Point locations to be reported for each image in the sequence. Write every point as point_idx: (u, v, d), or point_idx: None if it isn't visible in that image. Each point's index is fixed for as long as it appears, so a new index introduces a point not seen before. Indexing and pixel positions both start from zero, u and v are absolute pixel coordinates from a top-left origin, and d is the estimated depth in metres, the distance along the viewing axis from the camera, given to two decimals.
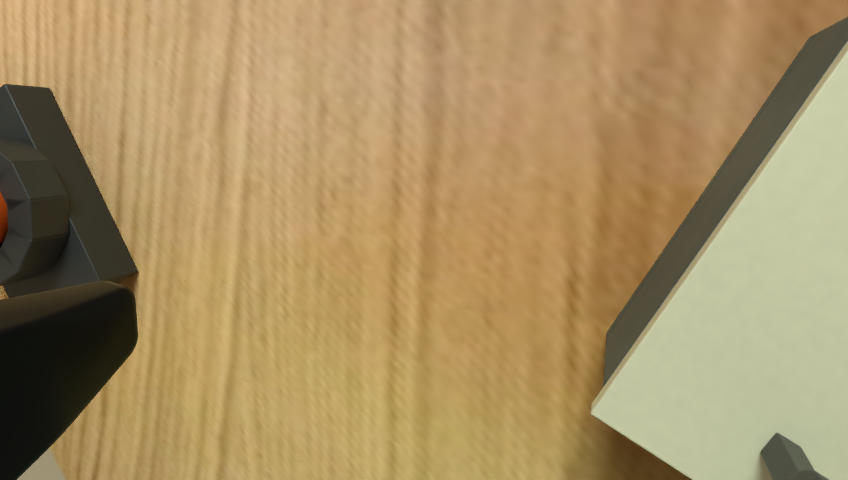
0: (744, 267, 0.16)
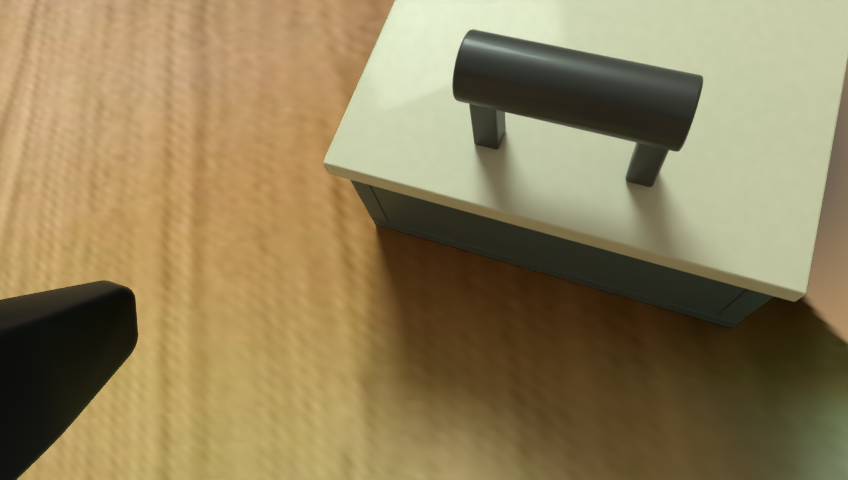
0: (420, 13, 0.19)
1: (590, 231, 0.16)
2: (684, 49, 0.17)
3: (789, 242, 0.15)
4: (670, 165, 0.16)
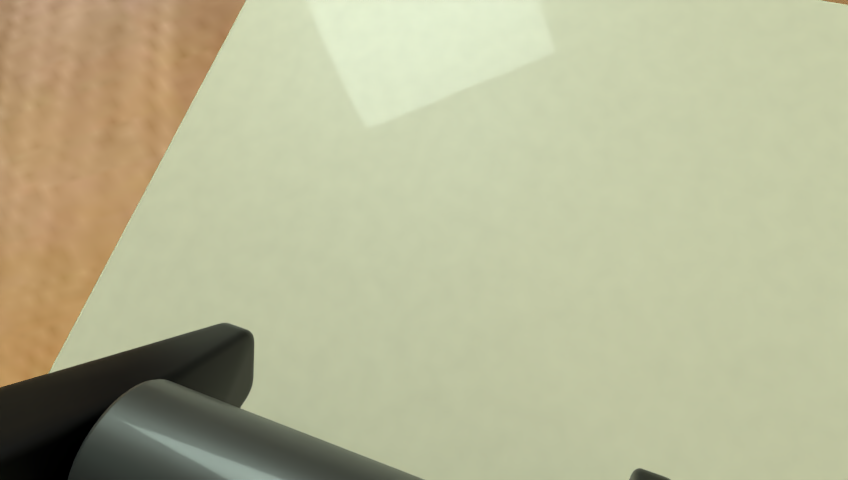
0: (189, 205, 0.11)
1: None
2: (638, 306, 0.09)
3: None
4: None
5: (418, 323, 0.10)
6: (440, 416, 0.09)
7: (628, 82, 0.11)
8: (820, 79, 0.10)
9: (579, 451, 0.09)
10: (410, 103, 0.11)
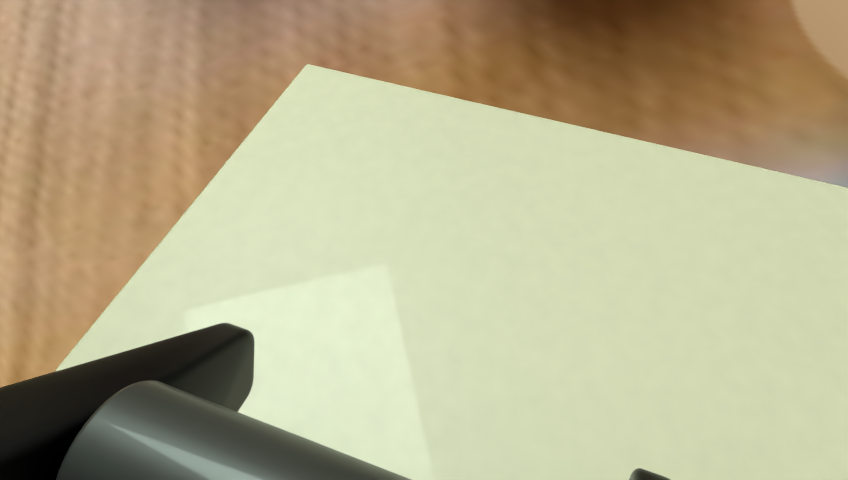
0: (180, 284, 0.11)
1: None
2: (608, 397, 0.10)
3: None
4: None
5: (398, 403, 0.10)
6: None
7: (592, 211, 0.12)
8: (750, 221, 0.12)
9: None
10: (400, 213, 0.12)
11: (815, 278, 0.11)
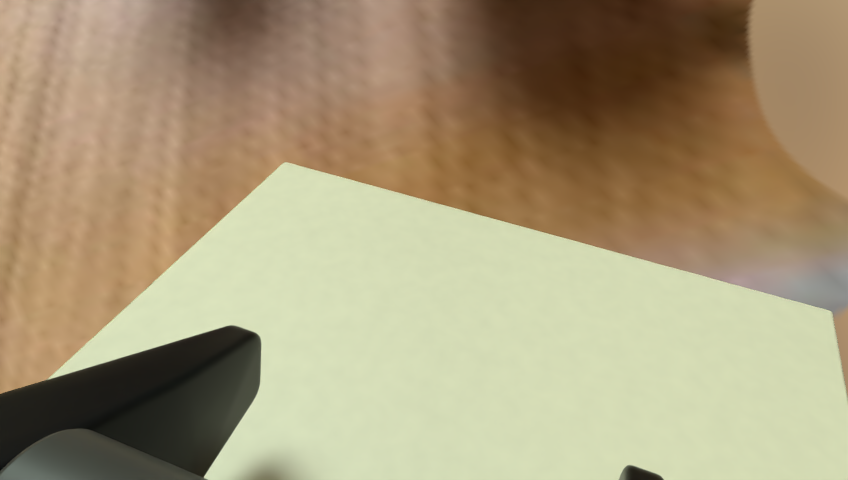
0: None
1: None
2: None
3: None
4: None
5: None
6: None
7: (563, 313, 0.12)
8: (717, 330, 0.12)
9: None
10: (369, 304, 0.12)
11: (786, 390, 0.11)
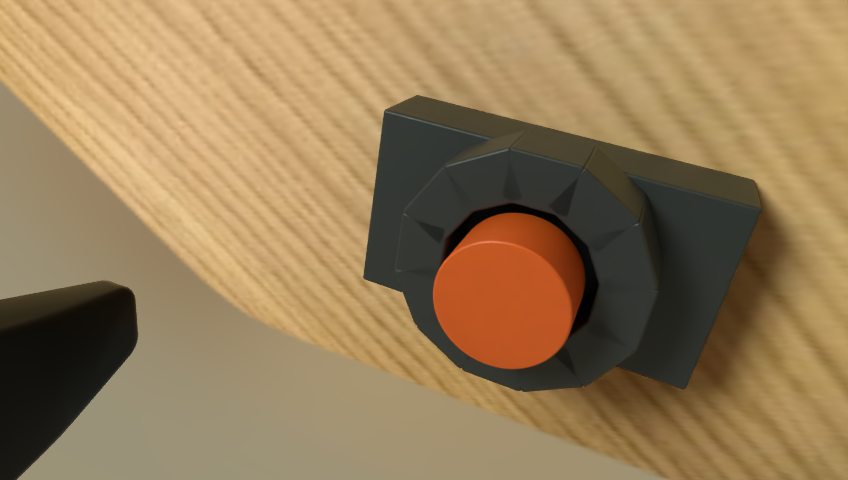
0: None
1: None
2: None
3: None
4: None
5: None
6: None
7: None
8: None
9: None
10: None
11: None
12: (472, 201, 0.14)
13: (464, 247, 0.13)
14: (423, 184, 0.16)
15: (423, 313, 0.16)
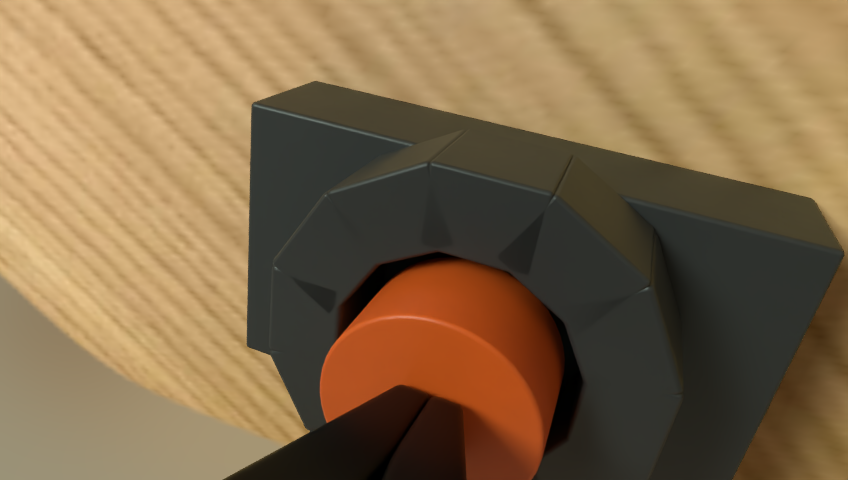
0: None
1: None
2: None
3: None
4: None
5: None
6: None
7: None
8: None
9: None
10: None
11: None
12: (375, 249, 0.09)
13: (362, 325, 0.08)
14: None
15: (315, 415, 0.10)
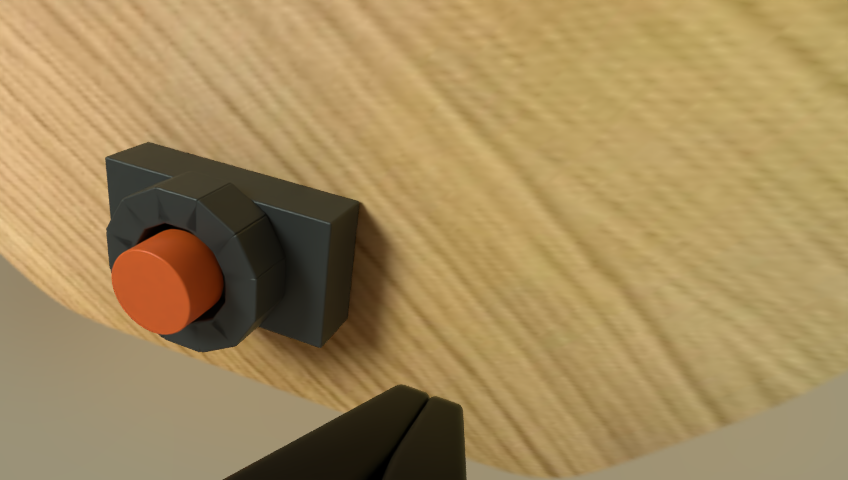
0: None
1: None
2: None
3: None
4: None
5: None
6: None
7: None
8: None
9: None
10: None
11: None
12: (142, 222, 0.21)
13: (121, 254, 0.20)
14: None
15: None
